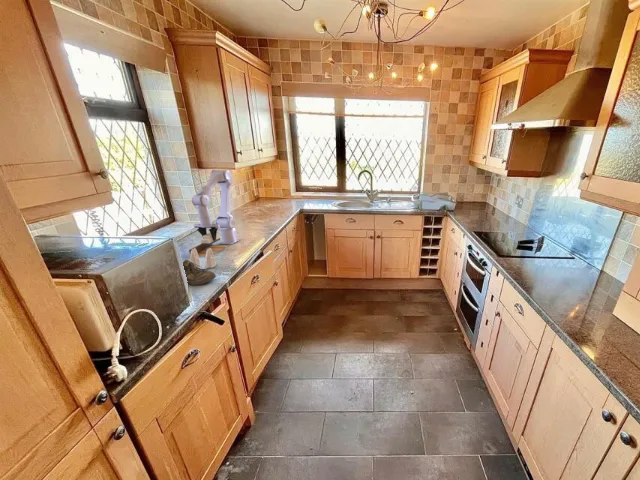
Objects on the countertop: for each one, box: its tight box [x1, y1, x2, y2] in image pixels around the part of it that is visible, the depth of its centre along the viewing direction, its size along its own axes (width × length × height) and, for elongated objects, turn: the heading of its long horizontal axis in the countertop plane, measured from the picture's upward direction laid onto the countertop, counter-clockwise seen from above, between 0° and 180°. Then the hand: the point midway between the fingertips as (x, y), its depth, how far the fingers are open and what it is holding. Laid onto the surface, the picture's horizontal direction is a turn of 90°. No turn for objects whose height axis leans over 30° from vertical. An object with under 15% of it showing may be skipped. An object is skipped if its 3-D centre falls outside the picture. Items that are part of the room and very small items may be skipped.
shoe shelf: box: [188, 243, 230, 257], centre depth 183 cm, size 20×12×4 cm, turn 176°
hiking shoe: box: [181, 259, 217, 286], centre depth 142 cm, size 9×21×12 cm, turn 89°
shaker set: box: [189, 247, 217, 269], centre depth 155 cm, size 12×4×11 cm, turn 125°
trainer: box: [200, 231, 221, 245], centre depth 180 cm, size 11×5×5 cm, turn 176°
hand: (210, 240), depth 180 cm, fingers closed on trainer, 4 cm apart
